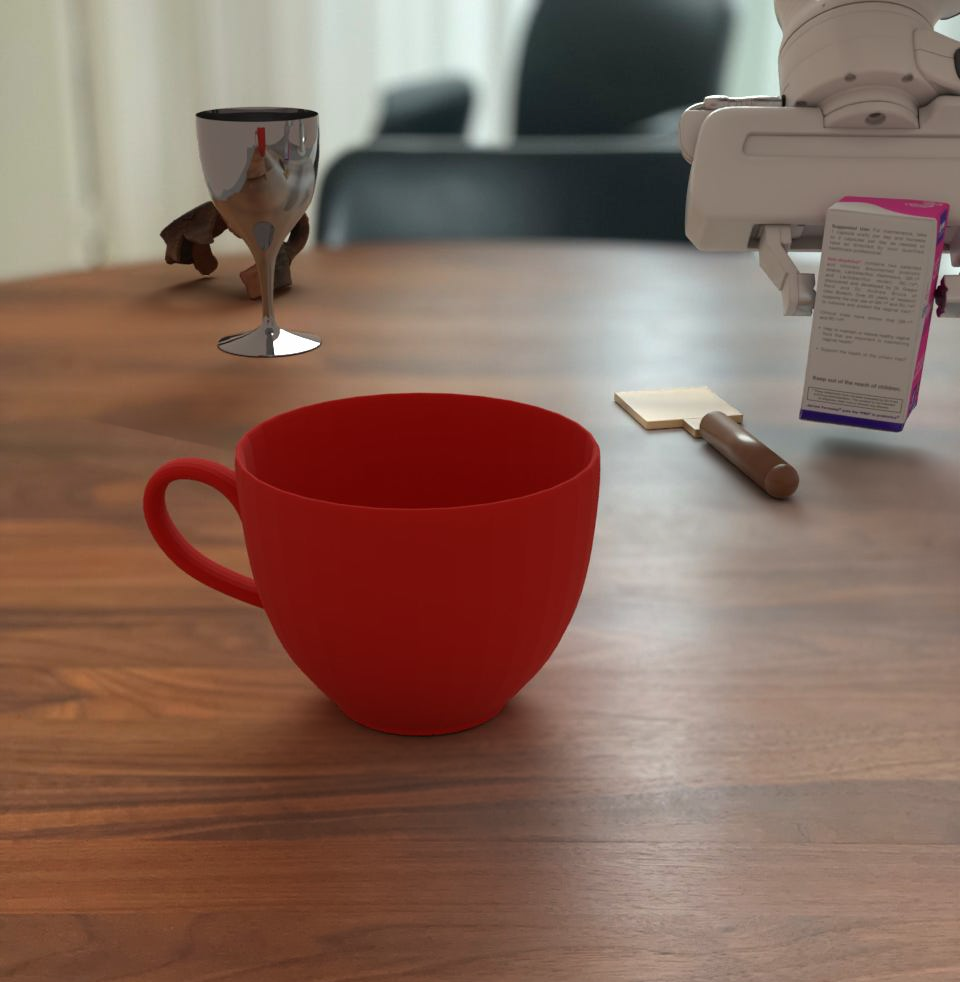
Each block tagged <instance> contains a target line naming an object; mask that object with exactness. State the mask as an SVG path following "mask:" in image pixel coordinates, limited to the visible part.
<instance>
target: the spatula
mask: <svg viewBox="0 0 960 982" xmlns="http://www.w3.org/2000/svg"><path fill="white" fill-rule="evenodd" d="M613 400H614V401H615V403H617V404H618V405H619V406H620V407H621V408H622V409H623V410H625V412H627V413H628V414H629V415H630V416H631V417H632V418H633V419H634V420H635V421H636V422H638V423H639V424H640V425H641V426H642V427H643V428H644V429H645V430H659V429H674V428H683V429H684V430H685V431H686V432H688V433H689V434H690V435H691V436H692V437H693V438H702V439H704V440H705V441H706V442H707V443H708V444H709V445H711V446H712V447H713V448H714V450H716V451H717V452H719V453H720V454H721V455H722V456H723V457H725V458H726V459H727V460H728V461H729V462H730V463H732V464H733V465H734V466H735V467H736V468H738V469H739V470H740V471H741V472H742V473H744V474H745V475H746V476H747V477H748V478H750V480H751V481H753V482H754V483H755V484H756V485H758V486H759V487H760V488H761V489H763V491H765V492H766V493H767V494H768V495H770V496H771V497H773V498H776V499H787V498H790V497H791V496H792V495H794V494H795V493H796V491H797V490H798V489H799V486H800V474H799V473H798V471H797V470H796V468H795V467H793V465H791V464H790V463H789V462H788V461H786V460H785V459H784V458H782V457H781V456H780V455H778V454H777V453H776V452H774V451H773V450H772V449H771V448H770V447H768V445H766V444H765V443H763V441H762V442H761V441H760V440H759V439H758V438H757V437H755V436H754V435H753V434H752V433H750V432H749V431H748V430H747V429H746V428H744V427H742V426H741V425H740V424H742V423H743V422H744V413H742V412H741V411H739V410H738V409H737V408H735V407H734V406H733V405H731V404H730V403H729V402H728V401H726V400H725V399H724V398H722V397H721V396H720V395H718V394H717V393H715V391H713V390H712V389H710V388H709V387H707V386H706V385H703V386H687V387H675V388H660V389H658V388H657V389H645V390H644V389H643V390H629V391H615V392H614V393H613ZM739 423H740V424H739Z"/></svg>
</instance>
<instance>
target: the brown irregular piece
mask: <svg viewBox="0 0 960 982" xmlns="http://www.w3.org/2000/svg"><path fill="white" fill-rule="evenodd" d="M310 228H311V227H310V219H309V216H308V215H307V212H305V213H304V215H303V216H302V217H301V218H300V220H299V221H298V222H297V224H296V225H295V226H294V228H293V229H292V230H291V232H290V233H289V235H288V239H287V240H286V241H284V242H283V244H282V245H281V247H280V249H279V252H278V254H277V258H276V262H275V270H274V284H273V291H274V290H276V289H280V288H287V287H290V286H289V285H291V286H292V285H293V279H292V273H291V266H292V262H293V261H294V259H295V258H296V256H297V255H298V254H300V252H302V251H303V250H304V248H305V247H306V244H307V243H308V240H309V237H310V232H311V231H310ZM226 230H228V231H229V232H230V233H232V235H234V236H235V237H236V238H238V239H241V240H243V239H242V238H241V237H240V236H239V234H238V233H237V232H236V231H235V230H234V229H233V228H232V227H231V226H230V225H229V223H228V222H227V221H226V220H225V219H224V218H223V217H222V216H221V215H220V213H219V212H218V211H217V209H216V208H215V207H214V205H213V203H212V201H211V200H208V201H205V202H203V203H201V204H199V205H197V206H195V207H194V208H191V209H190V210H188V211H186V212H184V213H183V214H181V215H180V216H179V217H177V218H176V219H173V220H172V221H171V222H170V223H169V224H167V225H166V226H165V227H164V228H163V229H162V230H161V231H160V233H159V237H160V238H161V239H162V240H163V242H164V244H165V246H166V248H165V253H164V261H165V263H166V264H167V265H169V266H170V265H171V266H172V265H174V264H178V265H183V266H185V265H186V266H187V265H193V267H194V269H195V270H196V271H198V273H200V275H201V276H203V275H209V276H210V274H212V273H214V272H215V271H216V270H217V269H218V267H219V261H218V259H217V257H216V256H215V255H214V254H213V251H212V247H211V245H212V244H214V243H215V238H217V237H219V236H221V235H222V234H223V233H224V232H225V231H226ZM239 278H240V280H241V282H242V283H243V285H244V286H245V289H246V292H247V294H248V296H249V299H250V300H255V299H256V298H259V297H261V289H260V283H259V277H258V272H257V267H256V263H255V262H254V264H253V265H251V266H249V267H247V268H246V269H244V270H242V271H240V272H239Z"/></svg>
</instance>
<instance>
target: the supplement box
mask: <svg viewBox="0 0 960 982" xmlns="http://www.w3.org/2000/svg"><path fill="white" fill-rule="evenodd" d="M949 209H950V205H949V204H948V203H941V202H932V201H921V200H909V199H891V198H874V197H856V196H845V197H843V198H842V199H840V200H839V201H838V202H836V203H835V204H834V205H832V206H831V207H830V208H828V210H827V214H826V222H825V229H824V237H823V244H822V252H820V261H819V269H818V276H817V283H816V289H815V291H816V297H815V305H814V309H813V312H812V322H811V328H810V337H809V345H808V352H807V360H806V367H805V374H804V381H803V388H802V396H801V401H800V402H801V403H800V409H799V414H798V420H800V421H805V422H810V423H817V424H818V423H819V424H826V425H827V424H828V425H835V426H842V427H850V428H858V429H864V430H873V431H879V432H887V433H888V432H889V433H901V432H903V430H904V428H905V424H906V423H907V421H908V419H909V417H910V415H911V414H912V412H913V410H915V408H916V406H917V405H918V401H919V393H920V388H921V381H922V376H923V370H924V365H925V358H926V351H927V346H928V340H929V335H930V329H931V322H932V317H933V310H934V304H935V291H936V289H937V287H938V281H939V274H940V268H941V261H942V257H943V254H942V250H943V244H944V238H945V232H946V226H947V220H948V215H949Z"/></svg>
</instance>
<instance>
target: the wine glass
mask: <svg viewBox="0 0 960 982" xmlns="http://www.w3.org/2000/svg"><path fill="white" fill-rule="evenodd" d="M194 119H195V120H194V121H195V136H196V144H197V153H198V159H199V164H200V169H201V173H202V177H203V181H204V185H205V188H206V191H207V194H208V196H209V198H210V201H212V203H213V205H214V207H215V208H216V209H217V211H218V212H219V213H220V215H221V216H222V217H223V218H224V219H225V220H226V221H227V222H228V223H229V225H230V226H231V227H232V228H233V229H234V230H235V231H236V232H237V233H238V234H239V236H240V237H241V238H242V239H241V240H243V242H244V243H245V245H246V246H247V247H248V249H249V251H250V253H251V255H252V258H253V261H254V264H255V263H256V267H257V272H258V277H259V283H260V289H261V296H260V297H261V309H262V311H261V313H262V321H261V324H260V325H259V326H257V327H256V328H254V329H249V330H242V331H237V332H234V333H230V334H227V335H225V336H223V337H221V338H220V339H219V340H218V341H217V346H218V348H220V349H221V350H222V351H224V352H226V353H229V354H235V355H240V356H247V357H282V356H289V355H290V356H291V355H297V354H298V355H299V354H301V353H306V352H309V351H312V350H315V349H317V348H318V347H320V345H321V344H322V338H321V337H320V336H319V335H317V334H315V333H312V332H310V331H305V330H300V329H292V328H283V327H282V326H280V325H279V324H277V321H276V317H275V308H274V307H275V306H274V290H273V284H274V270H275V262H276V258H277V254H278V252H279V249H280V247H281V245H282V244H283V242H285V240H286V238H287V237H289V235H290V232H291V230H292V229H293V228H294V226H295V225H296V224H297V222H298V221H299V220H300V218H301V217H302V216H303V215H304V213H307V210H308V209H309V207H310V205H311V203H312V201H313V198H314V195H315V194H314V193H315V190H316V184H317V179H318V173H319V164H320V163H319V162H320V153H321V152H320V148H321V147H320V145H321V144H320V140H321V139H320V138H321V137H320V136H321V135H320V134H321V133H320V132H321V131H320V115H319V112H318V111H315V110H312V109H308V108H299V107H287V106H286V107H285V106H240V107H239V106H238V107H237V106H236V107H224V108H223V107H222V108H213V109H207V110H202V111H199V112H196V113H195V115H194Z"/></svg>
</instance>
